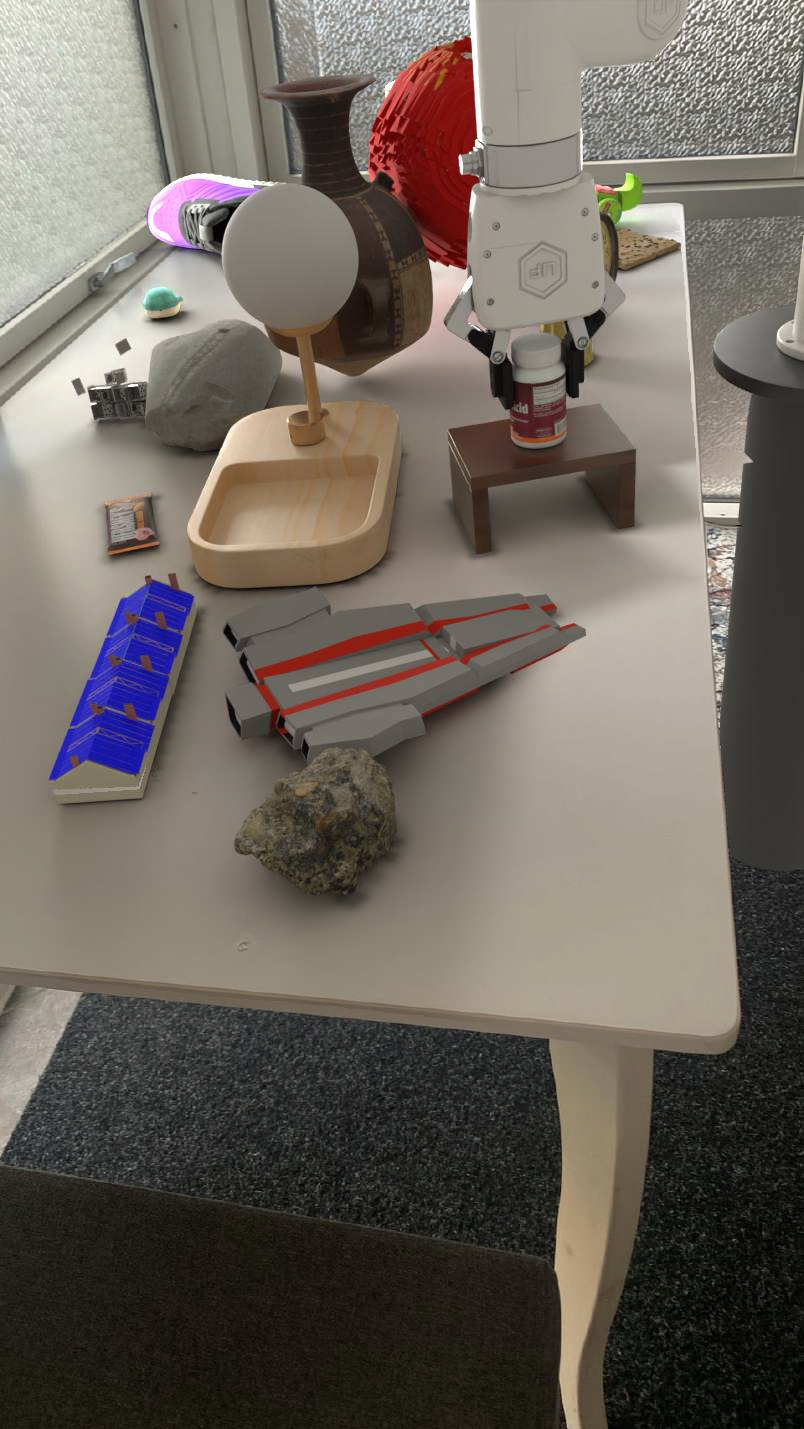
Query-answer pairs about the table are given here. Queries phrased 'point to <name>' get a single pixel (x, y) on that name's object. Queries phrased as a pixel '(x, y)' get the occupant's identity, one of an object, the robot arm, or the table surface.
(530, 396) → the pill bottle
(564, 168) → the robot arm
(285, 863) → the rock
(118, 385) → the house of cards
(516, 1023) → the table surface
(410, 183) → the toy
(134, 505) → the chocolate bar
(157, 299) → the whale figurine
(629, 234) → the cookie
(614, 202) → the toy crocodile
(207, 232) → the running shoe
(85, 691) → the building
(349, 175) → the vase
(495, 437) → the shelf
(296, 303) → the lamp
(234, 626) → the toy spaceship
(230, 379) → the stone
